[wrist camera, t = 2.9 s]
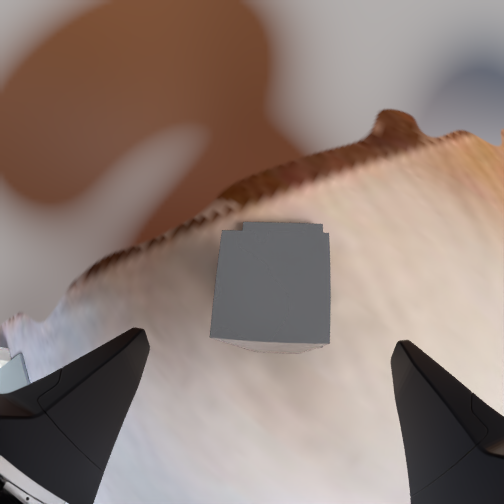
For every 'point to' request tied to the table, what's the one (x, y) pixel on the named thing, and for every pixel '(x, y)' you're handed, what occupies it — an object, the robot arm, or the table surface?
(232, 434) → the table surface
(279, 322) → the bracket
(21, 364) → the mat
